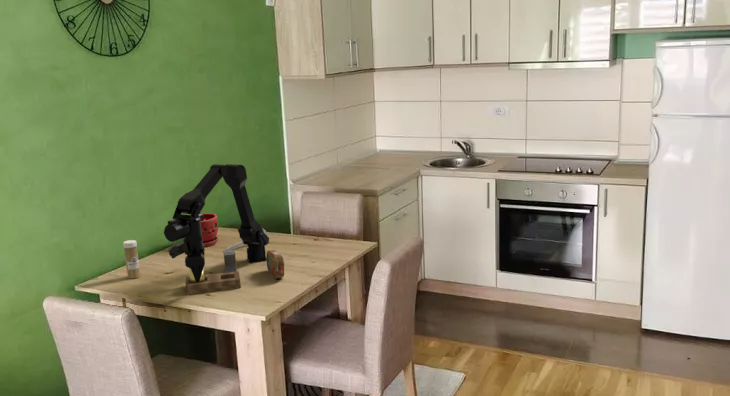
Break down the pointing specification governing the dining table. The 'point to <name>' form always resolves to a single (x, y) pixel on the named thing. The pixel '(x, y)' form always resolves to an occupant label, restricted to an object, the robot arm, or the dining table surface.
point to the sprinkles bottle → (131, 258)
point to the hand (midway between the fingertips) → (197, 277)
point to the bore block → (214, 283)
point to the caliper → (239, 244)
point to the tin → (275, 264)
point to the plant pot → (209, 229)
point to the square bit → (230, 261)
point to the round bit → (194, 278)
